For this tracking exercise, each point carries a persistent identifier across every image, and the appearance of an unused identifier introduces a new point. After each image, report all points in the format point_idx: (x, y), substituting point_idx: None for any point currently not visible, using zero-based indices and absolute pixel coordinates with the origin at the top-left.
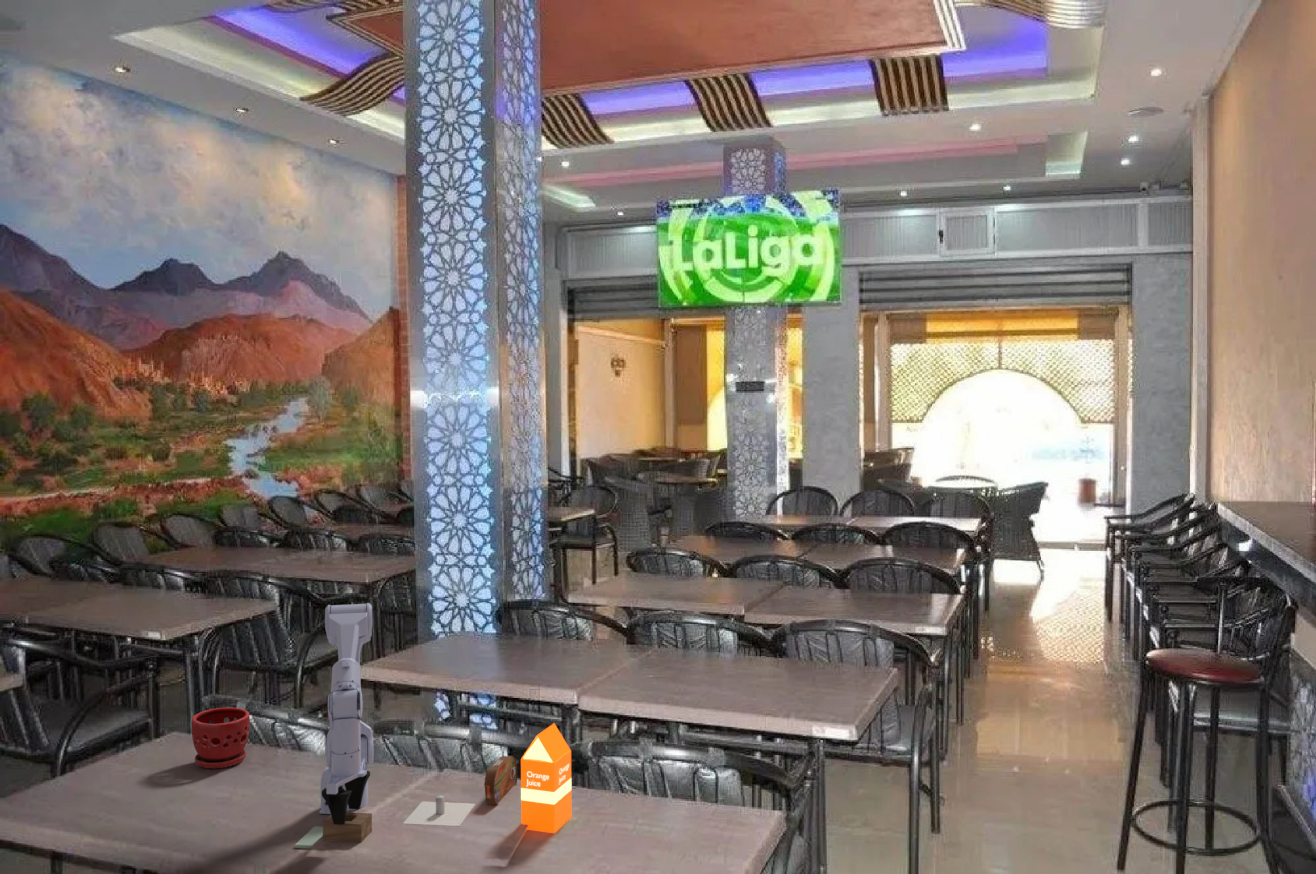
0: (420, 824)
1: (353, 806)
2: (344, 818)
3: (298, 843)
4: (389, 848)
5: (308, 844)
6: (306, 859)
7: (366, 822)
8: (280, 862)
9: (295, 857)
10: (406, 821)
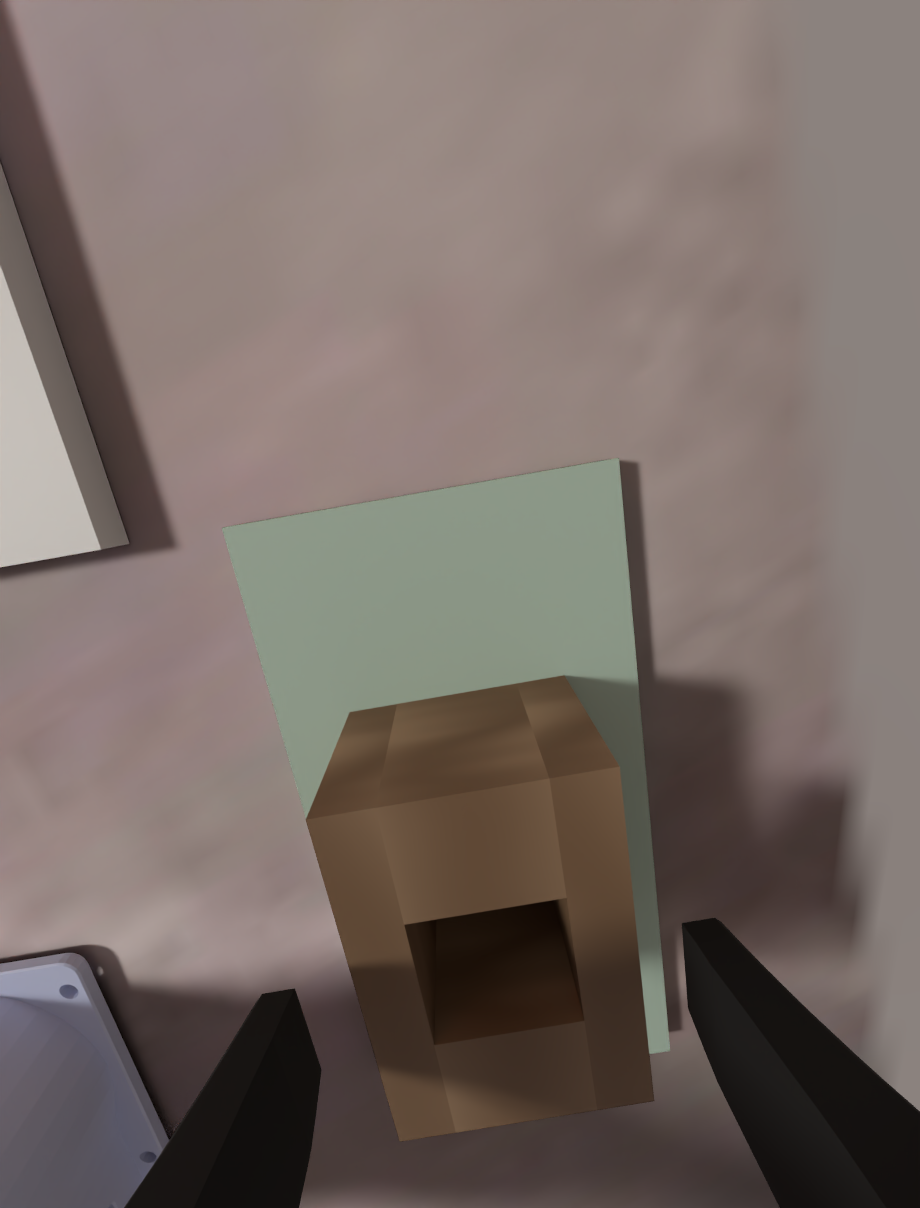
0: (34, 363)
1: (301, 1071)
2: (773, 976)
3: (649, 1044)
4: (524, 439)
5: (648, 989)
6: (803, 889)
7: (462, 769)
8: (858, 991)
9: (783, 958)
10: (45, 539)
